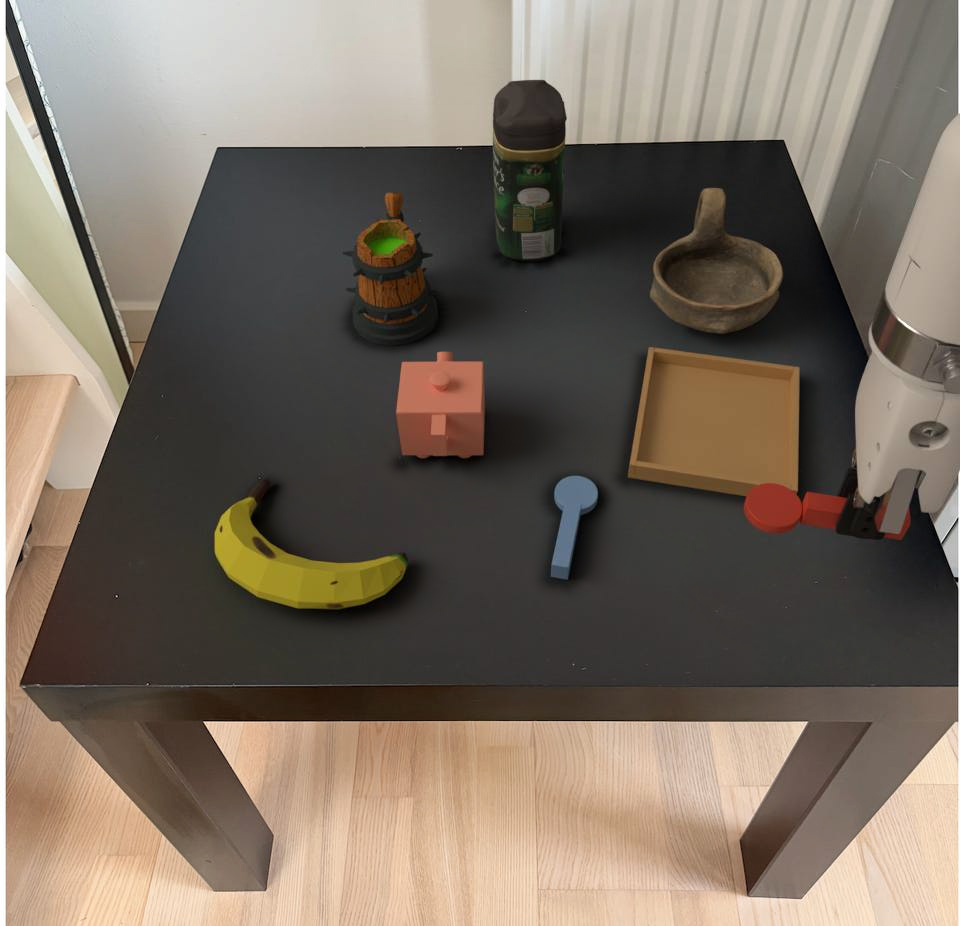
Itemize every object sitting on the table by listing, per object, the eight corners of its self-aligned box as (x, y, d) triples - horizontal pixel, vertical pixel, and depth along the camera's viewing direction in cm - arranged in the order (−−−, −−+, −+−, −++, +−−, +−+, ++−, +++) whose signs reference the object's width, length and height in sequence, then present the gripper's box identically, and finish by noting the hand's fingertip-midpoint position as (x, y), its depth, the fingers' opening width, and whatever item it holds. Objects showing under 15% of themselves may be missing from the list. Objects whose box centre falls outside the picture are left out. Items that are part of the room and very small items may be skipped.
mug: (436, 348, 98) (429, 262, 89) (343, 346, 99) (326, 260, 90) (447, 272, 106) (441, 186, 97) (361, 270, 107) (347, 184, 98)
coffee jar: (492, 217, 113) (489, 73, 98) (556, 214, 113) (562, 69, 98) (496, 267, 106) (494, 120, 92) (564, 263, 106) (571, 117, 92)
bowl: (649, 353, 97) (661, 278, 89) (642, 250, 108) (652, 177, 100) (781, 356, 96) (804, 282, 88) (760, 253, 107) (779, 179, 99)
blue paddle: (581, 582, 79) (583, 570, 77) (536, 574, 79) (537, 561, 78) (600, 485, 85) (601, 471, 84) (558, 478, 86) (559, 464, 85)
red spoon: (899, 510, 66) (908, 493, 64) (902, 554, 64) (912, 538, 62) (744, 486, 68) (750, 469, 66) (742, 528, 65) (747, 512, 64)
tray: (794, 380, 93) (799, 367, 92) (792, 504, 83) (798, 490, 82) (646, 360, 96) (649, 346, 94) (627, 477, 86) (629, 464, 84)
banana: (403, 591, 74) (415, 468, 85) (189, 583, 73) (230, 461, 85) (403, 626, 77) (415, 503, 88) (198, 619, 76) (236, 496, 88)
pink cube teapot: (485, 388, 94) (483, 328, 88) (483, 479, 86) (480, 420, 80) (410, 388, 94) (403, 329, 88) (401, 479, 87) (392, 421, 80)
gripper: (1039, 438, 45) (921, 624, 59) (999, 249, 55) (905, 447, 69) (881, 418, 47) (802, 605, 61) (869, 237, 56) (803, 434, 70)
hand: (858, 520), depth 65 cm, fingers closed on red spoon, 1 cm apart
